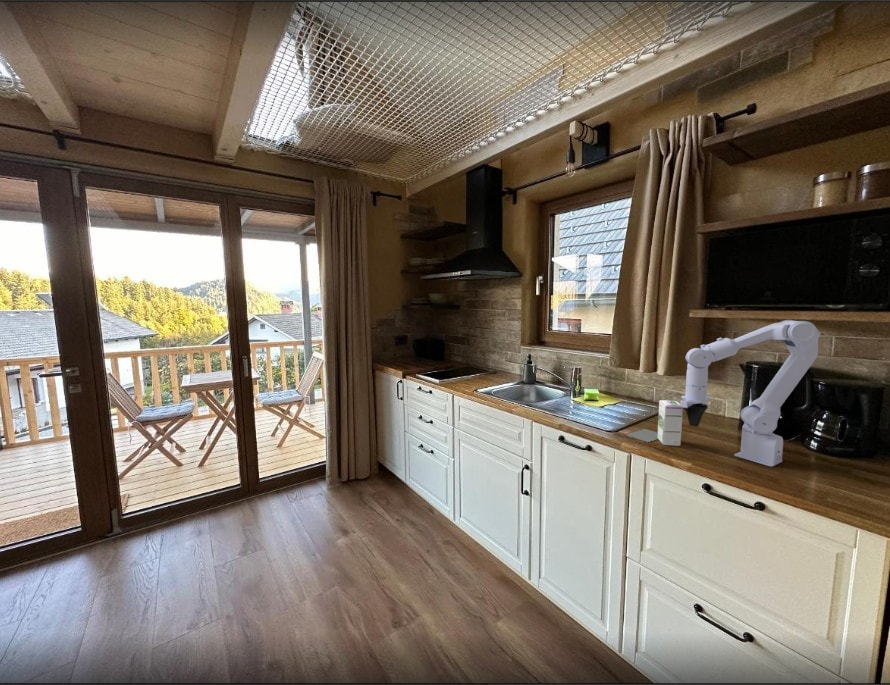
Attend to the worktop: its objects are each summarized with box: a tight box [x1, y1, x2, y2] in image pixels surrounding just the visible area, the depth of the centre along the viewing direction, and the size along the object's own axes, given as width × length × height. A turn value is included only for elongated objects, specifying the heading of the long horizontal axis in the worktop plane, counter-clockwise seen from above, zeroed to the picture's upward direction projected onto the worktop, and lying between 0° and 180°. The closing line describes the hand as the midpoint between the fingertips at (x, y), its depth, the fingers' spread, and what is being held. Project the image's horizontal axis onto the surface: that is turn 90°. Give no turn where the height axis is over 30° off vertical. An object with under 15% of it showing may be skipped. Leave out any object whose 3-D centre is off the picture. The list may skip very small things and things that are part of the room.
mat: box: [625, 428, 659, 443], centre depth 133 cm, size 8×12×1 cm
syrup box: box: [657, 399, 684, 447], centre depth 125 cm, size 6×6×14 cm
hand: (693, 425), depth 119 cm, fingers closed
